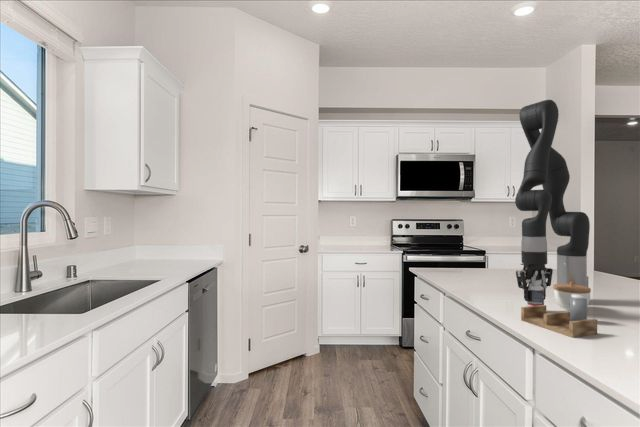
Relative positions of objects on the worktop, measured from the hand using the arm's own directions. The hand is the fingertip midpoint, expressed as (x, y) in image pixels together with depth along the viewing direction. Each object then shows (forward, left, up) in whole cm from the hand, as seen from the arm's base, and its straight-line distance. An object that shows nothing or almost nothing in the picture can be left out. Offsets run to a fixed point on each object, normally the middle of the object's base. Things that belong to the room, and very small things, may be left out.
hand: (534, 300), depth 128 cm
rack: (+8, +15, -4) cm, 17 cm away
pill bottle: (0, 0, -2) cm, 2 cm away
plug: (-3, +13, -4) cm, 14 cm away
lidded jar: (-14, +2, -4) cm, 15 cm away
